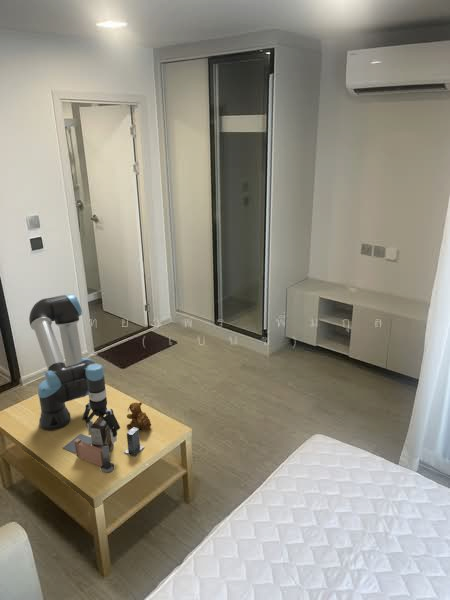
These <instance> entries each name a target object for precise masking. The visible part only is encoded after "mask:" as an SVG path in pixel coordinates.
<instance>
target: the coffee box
mask: <svg viewBox="0 0 450 600" xmlns="http://www.w3.org/2000/svg"><path fill="white" fill-rule="evenodd" d="M90 431H91V435H90V437H91V440H92V444H91V445H92V446H95V447H97V448H100V449H102V445H103V444H108V445H109V453H111V451H112V450H113V449H114V447H115V446H114V443H113V444H112V442H111V433H110V431H111V429H110V427H109V426H108V425H107V423H106V422H105V420H103V419H102V418H101V417H99V416H97V418H96V419H95V421H94V422H93V425H92V426H91V427H90Z"/></svg>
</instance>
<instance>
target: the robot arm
mask: <svg viewBox="0 0 450 600" xmlns="http://www.w3.org/2000/svg"><path fill="white" fill-rule="evenodd" d="M82 315H83V311H82V307H81V303H80V302H79V299H78V297H77V296H76V295H75V294H63V295H57V296H54V297H53V296H51V297H47V298H42V299H40V300H38V301H37V302H35V304H33V306H32V308H31V310H30V313H29V317H28V321H29V325H30V328H31V330H33V331H34V333H35V336H36V339H37V341H38V344H39V348H40V349H41V350H40V351H41V354H42V356H43V360H44V362H45V366H46V368H47V371H45V373H44V378H45V379H44V380H42V381H41V382H40V383H39V385H38V388H37V396H38V398H39V405H40V417H39V421H38V422H39V427H40V428H41V429H43V430H45V431H56V430H60V429H63V428H65V427H66V426H67V425H69V424H70V422H71V420H72V418H71V412H70V411H69V410H68V408H67V406H66V403H68V402H71V401H74V400H77V399H81V398H85V397H87V396H88V401H89V402H88V403H87V404H85V410H84V412H83V415H82V418H81V420H82V421H84V422H85V423H86V424H85V425H86V428H87V432H88V434H87V435H88V436H91V431H90V427H91V426H92V425H93V423H94V422H93V420H92V419H93V418H94V417H101V418H102V419H103V420H105V422H106V423H107V425H108V426H109V427H110V429H111V431H110V433H111V442H112V444H114V443H116V442H117V441H118V440H117V435H118V431H119V430H120V429H121V426H120V424H119V423H118V420H117V418H116V416H115V414H114V410H113V409H112V408H110V409H108V408H107V405H108V398H107V391H106V390H107V389H106V380H105V371H104V367H103V365H102V364H100V363H96V362H95V361H93V360H92V359H91V358H88V357H84V358H83V352H82V347H81V339H80V334H79V329H78V323H79V321H80V316H82ZM53 322H54V323H55V325H56V326H58V328H59V333H60V338H61V345H62V349H63V350H62V351H63V353H62V352H61V349H60V346H59V344H58V341H57V339H56V336H55V333H54V330H53V328H52V325H53ZM62 354H63V355H62ZM63 356H64V357H63ZM91 411H92V412H91ZM90 412H91V413H90Z"/></svg>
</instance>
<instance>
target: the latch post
mask: <svg viewBox="0 0 450 600" xmlns="http://www.w3.org/2000/svg"><path fill="white" fill-rule="evenodd" d="M126 439H127V440H126V442H127V449H126V450H125V451H124V454H126V455H129V456H132V457H133V458H134V457H135V458H136V457H137V456H138V455H139V454H140V453H141V451H143V450H144V448H145V447H144V446H143V445H141V442H140V441H141V440H140V430H139V429H138V428H135V427H133V428H132V429H129V430H128V431H127V432H126Z"/></svg>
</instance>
